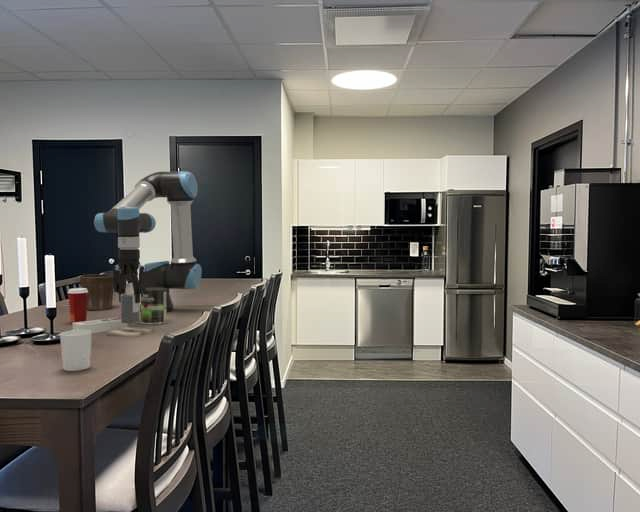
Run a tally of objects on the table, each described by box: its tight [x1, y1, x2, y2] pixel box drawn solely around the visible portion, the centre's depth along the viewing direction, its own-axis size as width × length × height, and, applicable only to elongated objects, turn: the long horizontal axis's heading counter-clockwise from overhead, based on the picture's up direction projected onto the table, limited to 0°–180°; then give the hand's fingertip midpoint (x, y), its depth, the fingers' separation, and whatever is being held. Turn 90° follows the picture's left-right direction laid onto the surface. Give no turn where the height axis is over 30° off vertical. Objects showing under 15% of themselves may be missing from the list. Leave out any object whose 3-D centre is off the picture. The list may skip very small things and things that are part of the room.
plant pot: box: [79, 273, 114, 311], centre depth 246 cm, size 16×16×16 cm
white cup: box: [59, 329, 92, 372], centre depth 142 cm, size 8×8×10 cm
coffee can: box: [140, 287, 168, 326], centre depth 211 cm, size 10×10×14 cm
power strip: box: [71, 316, 129, 335], centre depth 195 cm, size 18×7×5 cm, turn 134°
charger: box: [120, 294, 140, 325], centre depth 190 cm, size 5×4×10 cm
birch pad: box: [105, 326, 155, 338], centre depth 191 cm, size 12×12×1 cm
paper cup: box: [67, 287, 88, 325], centre depth 209 cm, size 8×8×14 cm
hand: (129, 311), depth 190 cm, fingers closed on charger, 4 cm apart
